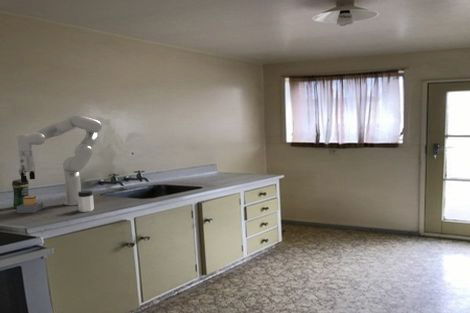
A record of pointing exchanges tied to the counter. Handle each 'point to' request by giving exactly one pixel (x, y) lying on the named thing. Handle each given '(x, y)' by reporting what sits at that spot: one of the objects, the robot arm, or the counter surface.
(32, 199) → the block
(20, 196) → the coffee jar
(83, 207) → the jar
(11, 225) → the counter surface
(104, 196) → the counter surface
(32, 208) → the holder
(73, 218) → the counter surface
